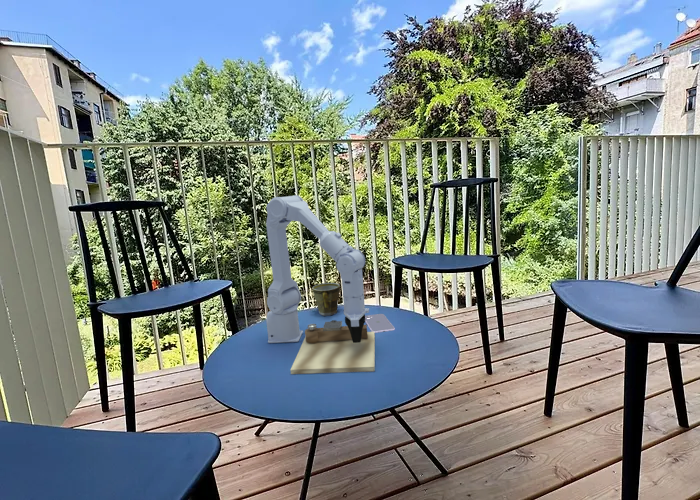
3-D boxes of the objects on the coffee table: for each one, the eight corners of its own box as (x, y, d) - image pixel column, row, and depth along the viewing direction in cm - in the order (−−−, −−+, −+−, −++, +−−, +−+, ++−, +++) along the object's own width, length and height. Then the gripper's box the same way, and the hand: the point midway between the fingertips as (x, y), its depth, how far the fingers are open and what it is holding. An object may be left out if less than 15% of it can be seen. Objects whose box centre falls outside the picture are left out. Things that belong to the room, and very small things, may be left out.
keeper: (307, 343, 107) (306, 328, 106) (311, 335, 113) (310, 320, 113) (341, 342, 107) (340, 326, 106) (343, 333, 113) (342, 318, 112)
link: (304, 343, 107) (304, 333, 106) (306, 337, 111) (305, 327, 111) (367, 339, 107) (367, 329, 106) (367, 333, 111) (366, 323, 111)
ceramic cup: (316, 308, 141) (314, 283, 140) (342, 307, 141) (340, 281, 139) (312, 321, 129) (309, 293, 127) (340, 319, 128) (338, 291, 126)
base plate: (290, 374, 93) (290, 369, 93) (306, 338, 115) (306, 334, 114) (374, 371, 91) (374, 366, 91) (374, 335, 113) (374, 331, 113)
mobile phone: (372, 331, 114) (362, 315, 129) (372, 334, 115) (362, 318, 129) (396, 328, 116) (383, 312, 130) (396, 331, 116) (383, 315, 130)
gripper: (369, 302, 94) (372, 352, 96) (367, 286, 108) (370, 330, 110) (341, 303, 94) (345, 353, 96) (343, 288, 108) (346, 332, 111)
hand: (356, 341), depth 103 cm, fingers closed
